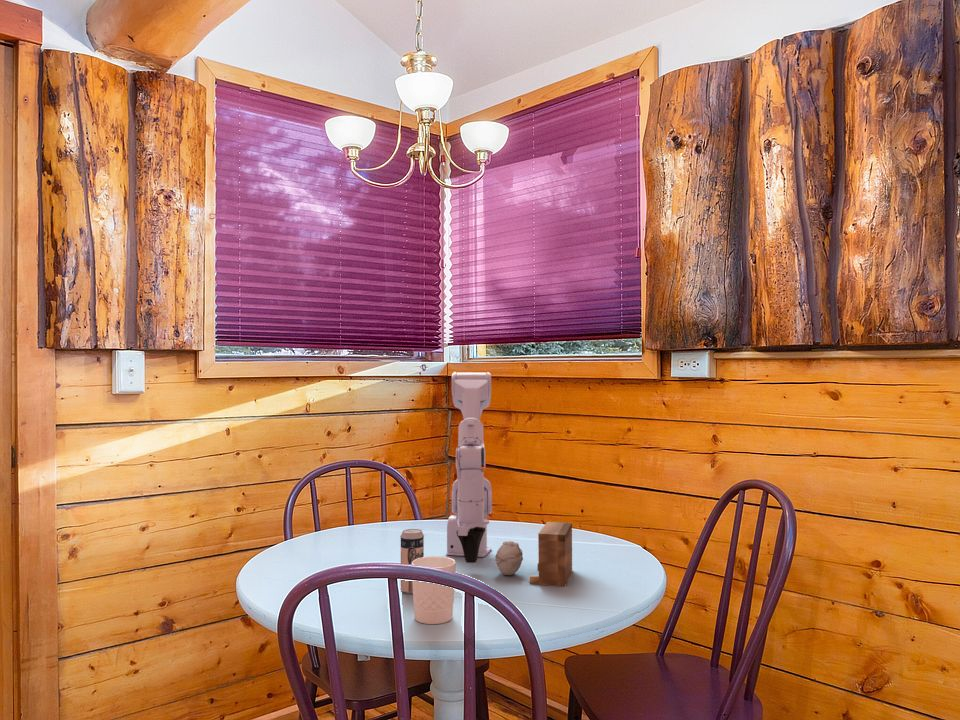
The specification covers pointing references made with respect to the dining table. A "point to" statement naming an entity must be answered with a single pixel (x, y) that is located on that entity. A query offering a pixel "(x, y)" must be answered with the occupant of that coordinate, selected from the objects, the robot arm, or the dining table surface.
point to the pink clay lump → (509, 558)
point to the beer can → (411, 552)
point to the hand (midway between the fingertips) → (471, 561)
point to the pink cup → (433, 593)
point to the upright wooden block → (554, 554)
